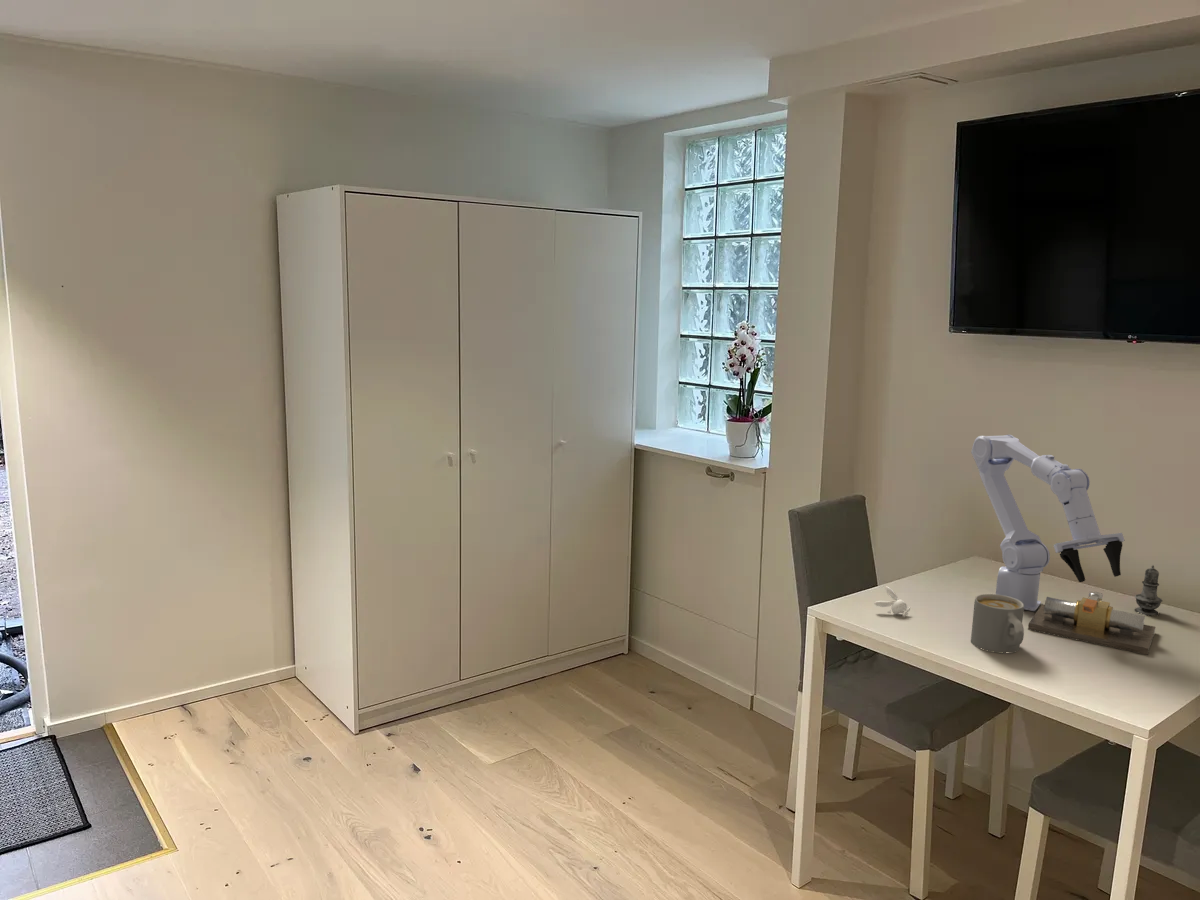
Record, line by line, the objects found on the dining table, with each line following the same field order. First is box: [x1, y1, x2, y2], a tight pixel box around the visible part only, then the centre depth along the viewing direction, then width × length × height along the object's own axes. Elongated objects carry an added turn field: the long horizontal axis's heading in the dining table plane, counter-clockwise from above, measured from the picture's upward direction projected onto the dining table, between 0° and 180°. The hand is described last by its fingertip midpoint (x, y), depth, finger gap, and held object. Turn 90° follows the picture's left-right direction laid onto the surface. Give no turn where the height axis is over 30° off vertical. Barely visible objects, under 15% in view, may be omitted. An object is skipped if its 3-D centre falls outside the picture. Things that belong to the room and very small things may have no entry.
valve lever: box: [1082, 590, 1104, 613], centre depth 208 cm, size 12×3×2 cm, turn 144°
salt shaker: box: [1134, 565, 1163, 616], centre depth 225 cm, size 6×6×12 cm
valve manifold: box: [1027, 596, 1156, 656], centre depth 212 cm, size 24×16×8 cm, turn 54°
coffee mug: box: [970, 593, 1025, 654], centre depth 201 cm, size 13×10×10 cm
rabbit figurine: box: [874, 585, 911, 618], centre depth 222 cm, size 6×4×8 cm
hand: (1099, 578), depth 207 cm, fingers open, 7 cm apart
